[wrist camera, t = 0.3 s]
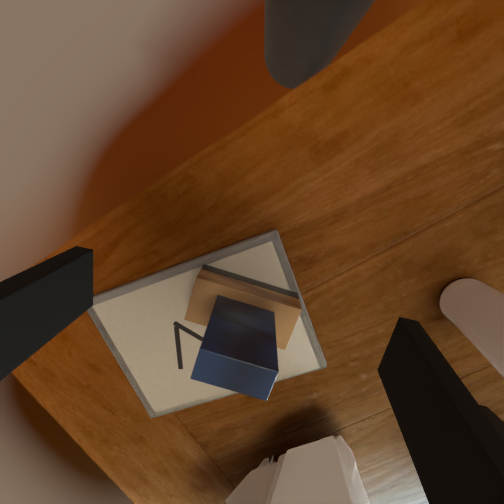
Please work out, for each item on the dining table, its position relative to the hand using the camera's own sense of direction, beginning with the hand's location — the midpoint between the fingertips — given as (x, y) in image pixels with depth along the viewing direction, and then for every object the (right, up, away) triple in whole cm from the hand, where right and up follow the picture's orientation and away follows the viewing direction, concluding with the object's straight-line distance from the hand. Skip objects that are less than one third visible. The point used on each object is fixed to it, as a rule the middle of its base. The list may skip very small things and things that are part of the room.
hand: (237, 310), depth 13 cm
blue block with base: (0, -3, +22) cm, 22 cm away
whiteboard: (-5, -7, +24) cm, 26 cm away
